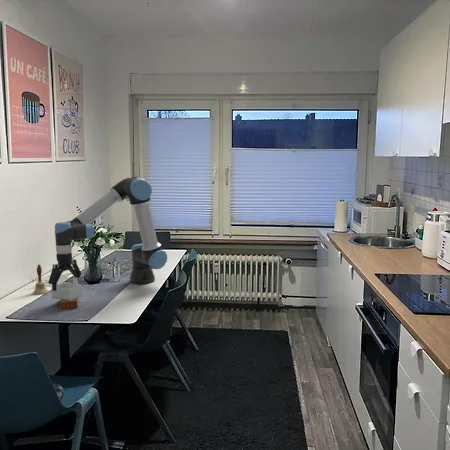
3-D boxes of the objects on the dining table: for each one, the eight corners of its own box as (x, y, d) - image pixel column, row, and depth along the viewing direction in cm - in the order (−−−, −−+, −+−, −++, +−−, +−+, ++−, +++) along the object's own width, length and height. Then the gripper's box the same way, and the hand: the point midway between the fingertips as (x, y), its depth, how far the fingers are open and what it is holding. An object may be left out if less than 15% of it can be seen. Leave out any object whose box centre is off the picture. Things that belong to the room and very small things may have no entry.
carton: (60, 310, 227) (60, 302, 226) (60, 301, 242) (60, 293, 241) (78, 308, 230) (77, 300, 229) (77, 299, 245) (76, 291, 244)
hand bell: (30, 292, 256) (28, 264, 254) (45, 289, 262) (43, 262, 259) (35, 295, 250) (33, 267, 248) (50, 292, 255) (49, 265, 253)
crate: (65, 293, 241) (64, 282, 241) (82, 296, 236) (82, 284, 236) (52, 297, 233) (51, 286, 233) (69, 300, 228) (69, 289, 227)
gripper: (76, 247, 244) (78, 285, 247) (39, 256, 222) (41, 298, 225) (87, 248, 240) (89, 287, 244) (50, 258, 218) (52, 300, 222)
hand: (66, 292), depth 234 cm, fingers open, 13 cm apart
